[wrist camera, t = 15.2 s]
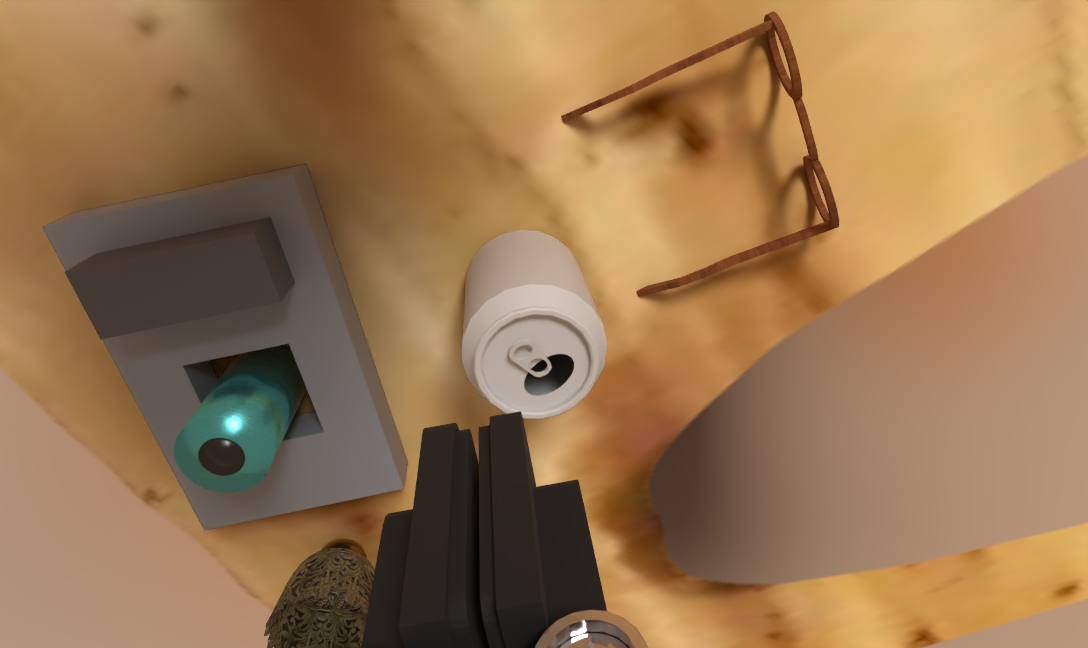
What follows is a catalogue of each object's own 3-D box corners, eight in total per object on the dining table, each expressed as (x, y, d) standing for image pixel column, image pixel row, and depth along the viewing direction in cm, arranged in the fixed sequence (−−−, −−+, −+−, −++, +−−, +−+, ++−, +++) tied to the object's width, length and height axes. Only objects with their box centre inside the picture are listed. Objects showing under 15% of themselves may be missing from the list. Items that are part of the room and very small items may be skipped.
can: (516, 353, 45) (528, 458, 34) (441, 276, 42) (427, 363, 31) (602, 285, 44) (643, 372, 33) (529, 201, 41) (547, 265, 30)
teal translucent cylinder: (218, 351, 43) (156, 429, 35) (293, 336, 43) (249, 410, 35) (247, 414, 45) (195, 502, 37) (318, 399, 45) (282, 484, 37)
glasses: (819, 209, 43) (859, 231, 39) (637, 294, 44) (655, 324, 40) (762, 8, 38) (801, 6, 33) (557, 111, 39) (567, 123, 35)
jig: (73, 212, 39) (6, 243, 33) (306, 164, 39) (277, 186, 33) (220, 501, 48) (186, 562, 42) (408, 462, 48) (398, 518, 42)
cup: (283, 576, 51) (251, 667, 44) (308, 504, 49) (277, 588, 41) (377, 597, 53) (361, 687, 46) (405, 529, 50) (392, 613, 43)
